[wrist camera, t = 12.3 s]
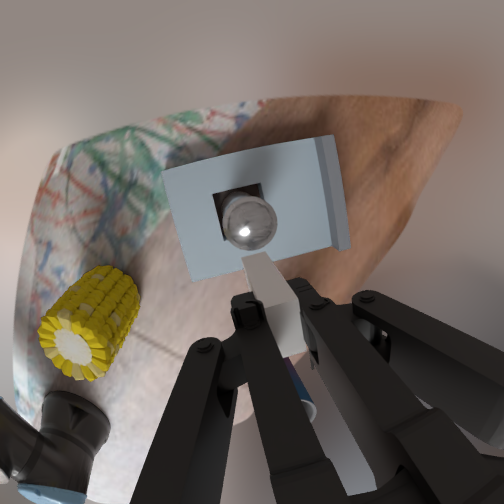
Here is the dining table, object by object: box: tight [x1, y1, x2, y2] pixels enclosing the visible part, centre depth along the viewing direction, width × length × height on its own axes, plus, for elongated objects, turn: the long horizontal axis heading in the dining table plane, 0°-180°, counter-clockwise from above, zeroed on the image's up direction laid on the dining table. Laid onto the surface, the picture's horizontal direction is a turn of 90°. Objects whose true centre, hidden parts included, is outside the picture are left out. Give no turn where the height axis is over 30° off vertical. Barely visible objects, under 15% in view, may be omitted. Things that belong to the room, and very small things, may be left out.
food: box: [37, 265, 141, 382], centre depth 31 cm, size 15×12×10 cm
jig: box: [161, 134, 351, 282], centre depth 35 cm, size 20×14×5 cm
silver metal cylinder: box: [222, 191, 278, 251], centre depth 32 cm, size 5×5×10 cm
